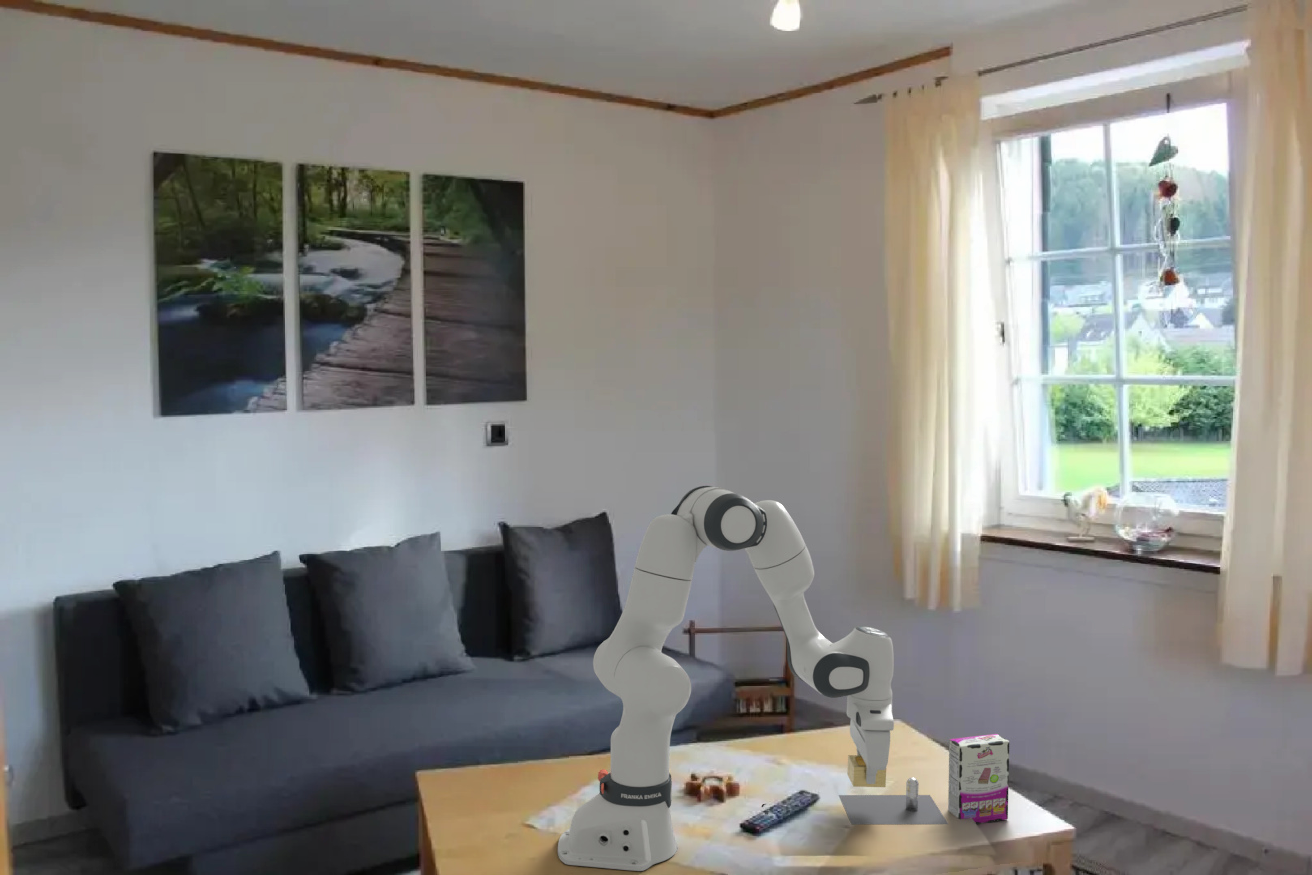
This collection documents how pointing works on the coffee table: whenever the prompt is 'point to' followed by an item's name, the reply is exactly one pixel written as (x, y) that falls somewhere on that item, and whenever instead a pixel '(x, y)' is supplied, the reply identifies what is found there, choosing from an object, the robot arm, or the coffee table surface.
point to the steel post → (912, 794)
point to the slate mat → (890, 810)
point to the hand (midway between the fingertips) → (866, 775)
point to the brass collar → (863, 773)
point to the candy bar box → (979, 778)
